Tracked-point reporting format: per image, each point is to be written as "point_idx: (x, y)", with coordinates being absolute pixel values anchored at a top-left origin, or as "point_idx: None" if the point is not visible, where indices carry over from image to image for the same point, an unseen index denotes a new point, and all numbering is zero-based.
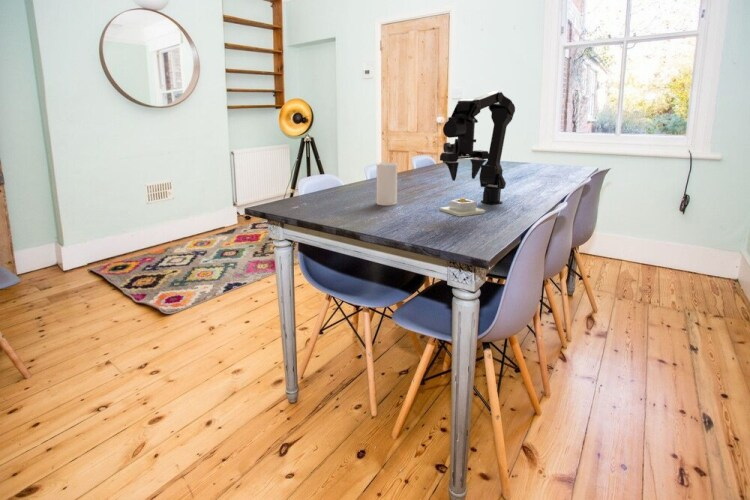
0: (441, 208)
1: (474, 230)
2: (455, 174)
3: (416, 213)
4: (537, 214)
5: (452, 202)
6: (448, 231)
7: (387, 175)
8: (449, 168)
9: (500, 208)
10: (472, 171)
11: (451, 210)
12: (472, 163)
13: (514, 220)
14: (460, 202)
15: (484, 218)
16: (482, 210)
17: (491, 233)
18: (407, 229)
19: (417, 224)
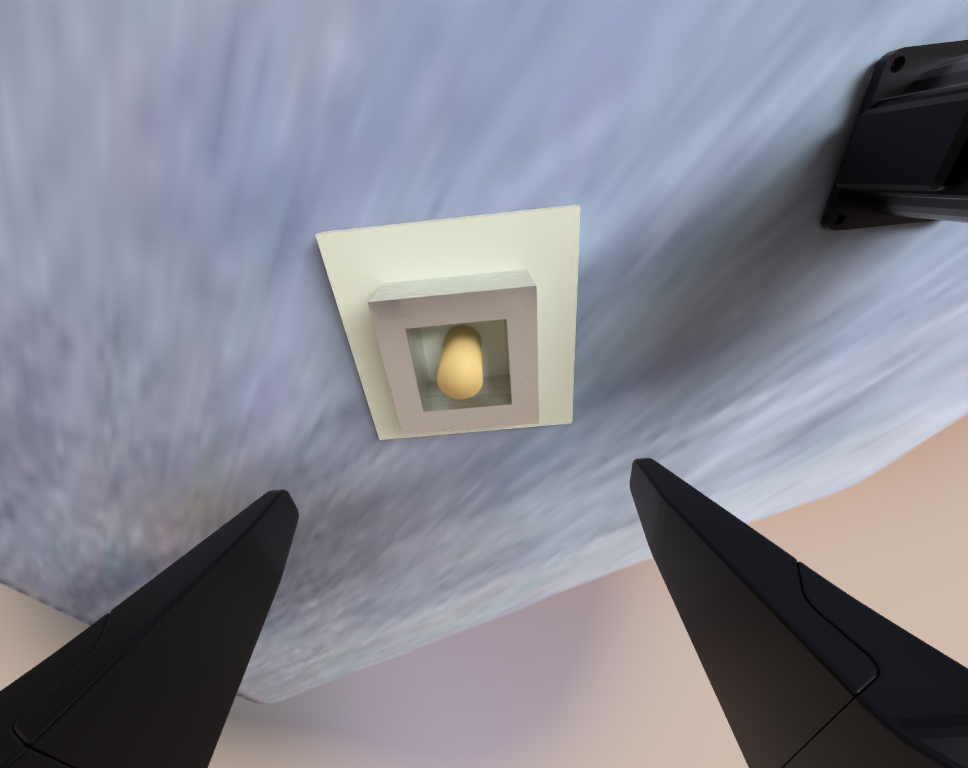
0: (324, 258)
1: (341, 587)
2: (240, 632)
3: (111, 253)
4: (755, 512)
5: (380, 337)
6: None
7: None
8: (25, 707)
9: (747, 355)
10: (693, 552)
11: (368, 352)
12: (889, 759)
13: (575, 546)
14: (416, 402)
15: (483, 490)
16: (551, 421)
17: (380, 617)
18: (61, 517)
19: (112, 473)
